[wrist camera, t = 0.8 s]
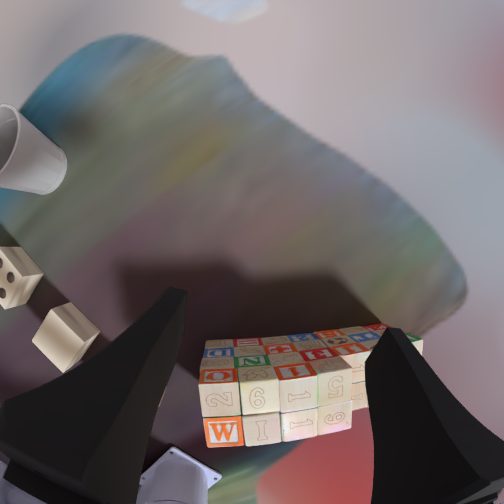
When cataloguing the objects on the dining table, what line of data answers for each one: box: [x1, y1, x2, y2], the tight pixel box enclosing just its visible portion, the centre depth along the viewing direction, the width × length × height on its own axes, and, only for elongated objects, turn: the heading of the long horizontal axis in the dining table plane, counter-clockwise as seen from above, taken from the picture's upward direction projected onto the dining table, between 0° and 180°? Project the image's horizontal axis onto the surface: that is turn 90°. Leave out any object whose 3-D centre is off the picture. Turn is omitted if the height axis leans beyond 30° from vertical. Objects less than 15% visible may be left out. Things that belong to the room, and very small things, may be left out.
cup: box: [0, 104, 67, 195], centre depth 26 cm, size 8×8×12 cm
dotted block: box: [0, 247, 44, 309], centre depth 29 cm, size 5×5×5 cm
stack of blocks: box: [198, 323, 423, 447], centre depth 29 cm, size 21×6×12 cm, turn 93°
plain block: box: [32, 302, 100, 373], centre depth 30 cm, size 5×5×5 cm
